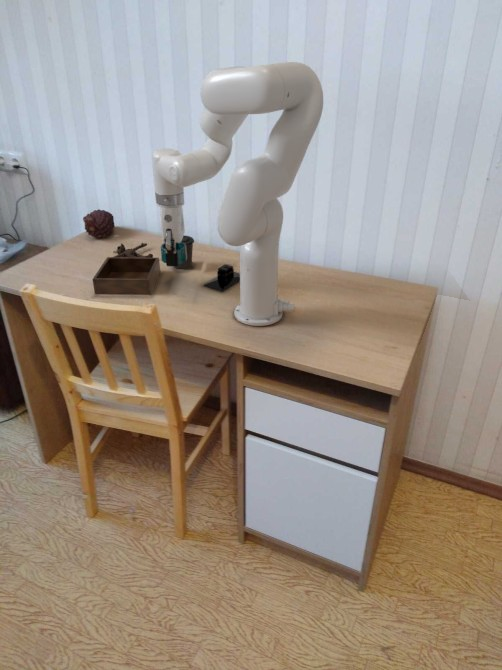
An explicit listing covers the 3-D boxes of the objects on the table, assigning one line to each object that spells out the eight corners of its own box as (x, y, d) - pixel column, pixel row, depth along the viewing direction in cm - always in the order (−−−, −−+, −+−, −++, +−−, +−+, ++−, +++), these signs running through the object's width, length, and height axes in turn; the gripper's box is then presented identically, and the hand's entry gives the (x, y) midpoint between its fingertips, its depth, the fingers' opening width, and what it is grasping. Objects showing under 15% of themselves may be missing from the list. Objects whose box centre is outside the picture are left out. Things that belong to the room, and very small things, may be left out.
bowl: (188, 257, 154) (187, 241, 152) (185, 267, 148) (184, 250, 146) (164, 257, 154) (163, 241, 152) (160, 267, 148) (158, 250, 146)
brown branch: (128, 264, 160) (94, 249, 166) (128, 277, 162) (95, 262, 169) (168, 246, 173) (136, 232, 179) (168, 258, 175) (136, 244, 181)
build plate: (222, 292, 151) (221, 277, 149) (202, 286, 155) (201, 271, 152) (247, 276, 160) (247, 262, 157) (228, 271, 163) (227, 257, 161)
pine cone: (94, 225, 198) (106, 202, 195) (116, 241, 198) (129, 218, 195) (70, 229, 181) (82, 204, 178) (93, 245, 181) (107, 221, 178)
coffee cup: (196, 272, 162) (195, 241, 157) (170, 274, 161) (167, 243, 156) (195, 262, 169) (193, 232, 164) (169, 264, 168) (166, 233, 163)
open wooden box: (160, 273, 162) (159, 257, 159) (150, 297, 148) (148, 279, 146) (109, 273, 162) (107, 256, 159) (95, 296, 149) (92, 279, 146)
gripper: (179, 209, 134) (183, 273, 144) (188, 189, 149) (191, 248, 158) (149, 208, 134) (155, 273, 144) (161, 188, 149) (166, 248, 158)
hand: (174, 259), depth 151 cm, fingers closed on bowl, 7 cm apart
